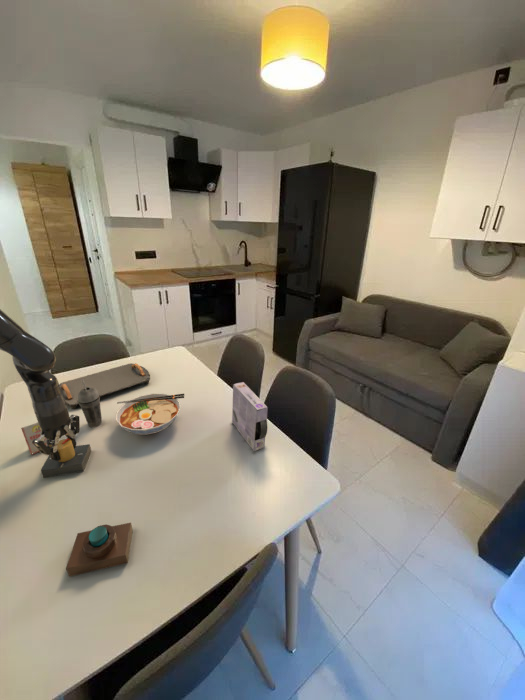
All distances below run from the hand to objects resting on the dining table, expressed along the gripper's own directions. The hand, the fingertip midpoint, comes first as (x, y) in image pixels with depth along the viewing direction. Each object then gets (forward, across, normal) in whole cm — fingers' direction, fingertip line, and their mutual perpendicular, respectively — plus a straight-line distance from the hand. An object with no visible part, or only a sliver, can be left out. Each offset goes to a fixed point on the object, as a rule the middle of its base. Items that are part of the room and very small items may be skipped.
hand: (65, 453), depth 91 cm
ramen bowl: (+4, +24, -14) cm, 28 cm away
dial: (+1, 0, 0) cm, 1 cm away
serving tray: (+4, +42, +24) cm, 48 cm away
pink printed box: (+4, +3, +14) cm, 15 cm away
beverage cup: (+4, +19, +8) cm, 21 cm away
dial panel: (+4, 0, 0) cm, 4 cm away
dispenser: (+5, -19, -31) cm, 37 cm away
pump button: (0, -19, -31) cm, 36 cm away
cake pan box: (+4, +31, -50) cm, 59 cm away
